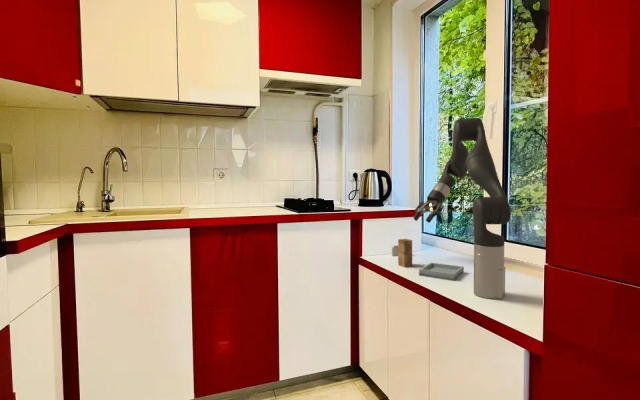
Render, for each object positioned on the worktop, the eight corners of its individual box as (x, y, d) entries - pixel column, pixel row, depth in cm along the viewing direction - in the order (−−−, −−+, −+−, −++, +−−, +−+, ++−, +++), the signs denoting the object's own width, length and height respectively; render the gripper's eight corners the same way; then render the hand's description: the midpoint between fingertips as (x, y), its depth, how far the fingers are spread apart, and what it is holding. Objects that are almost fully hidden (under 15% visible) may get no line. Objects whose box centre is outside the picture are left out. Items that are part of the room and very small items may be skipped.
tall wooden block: (406, 264, 162) (406, 238, 161) (412, 266, 158) (412, 240, 157) (398, 265, 160) (398, 239, 159) (404, 267, 156) (404, 241, 155)
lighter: (392, 256, 178) (392, 240, 178) (391, 255, 180) (391, 240, 180) (406, 255, 179) (406, 240, 179) (404, 254, 181) (404, 239, 180)
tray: (463, 272, 145) (463, 266, 145) (454, 280, 134) (454, 274, 134) (430, 268, 154) (430, 262, 154) (419, 275, 143) (419, 269, 142)
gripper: (423, 188, 171) (406, 214, 167) (445, 189, 158) (427, 216, 155) (432, 198, 174) (415, 223, 170) (454, 199, 161) (436, 227, 157)
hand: (421, 220), depth 162 cm, fingers open, 8 cm apart
